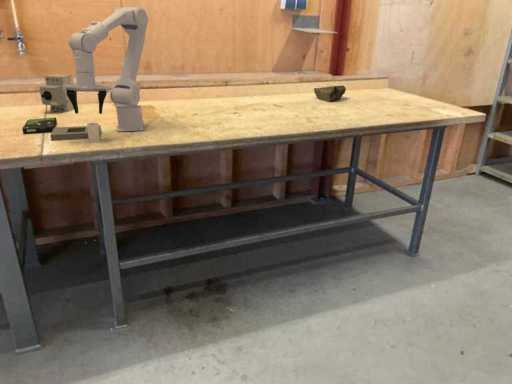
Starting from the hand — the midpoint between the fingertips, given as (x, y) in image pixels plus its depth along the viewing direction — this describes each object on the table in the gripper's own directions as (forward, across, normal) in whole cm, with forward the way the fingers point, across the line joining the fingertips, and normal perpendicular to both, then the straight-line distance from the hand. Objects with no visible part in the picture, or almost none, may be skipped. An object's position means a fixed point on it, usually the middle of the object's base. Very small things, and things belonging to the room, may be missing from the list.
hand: (88, 113), depth 142 cm
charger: (+10, +1, 0) cm, 10 cm away
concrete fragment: (+2, +112, +59) cm, 127 cm away
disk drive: (+10, -21, +20) cm, 31 cm away
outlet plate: (+10, -6, +8) cm, 14 cm away
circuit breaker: (+8, -20, +50) cm, 54 cm away
